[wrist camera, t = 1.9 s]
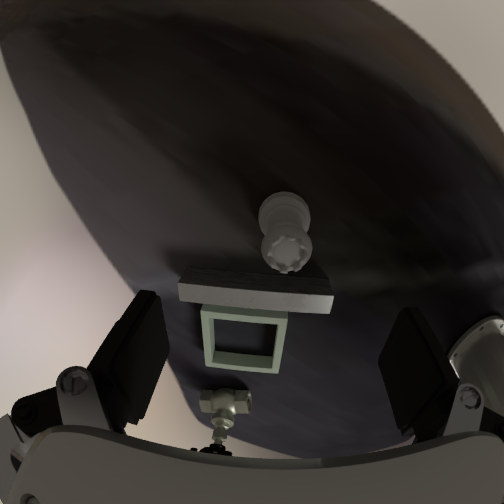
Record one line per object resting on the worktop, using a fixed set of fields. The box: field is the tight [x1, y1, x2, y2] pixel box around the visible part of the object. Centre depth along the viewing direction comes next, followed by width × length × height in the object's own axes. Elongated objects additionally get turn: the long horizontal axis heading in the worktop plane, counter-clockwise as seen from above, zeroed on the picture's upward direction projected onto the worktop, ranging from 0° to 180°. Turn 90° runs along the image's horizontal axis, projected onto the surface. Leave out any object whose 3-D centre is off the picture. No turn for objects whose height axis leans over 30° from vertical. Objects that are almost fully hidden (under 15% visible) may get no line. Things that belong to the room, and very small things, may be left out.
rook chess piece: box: [258, 191, 312, 274], centre depth 20 cm, size 4×4×8 cm
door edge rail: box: [178, 267, 334, 314], centre depth 25 cm, size 14×2×3 cm, turn 88°
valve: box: [190, 388, 252, 456], centre depth 30 cm, size 7×7×12 cm
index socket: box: [201, 304, 288, 373], centre depth 29 cm, size 9×9×2 cm
